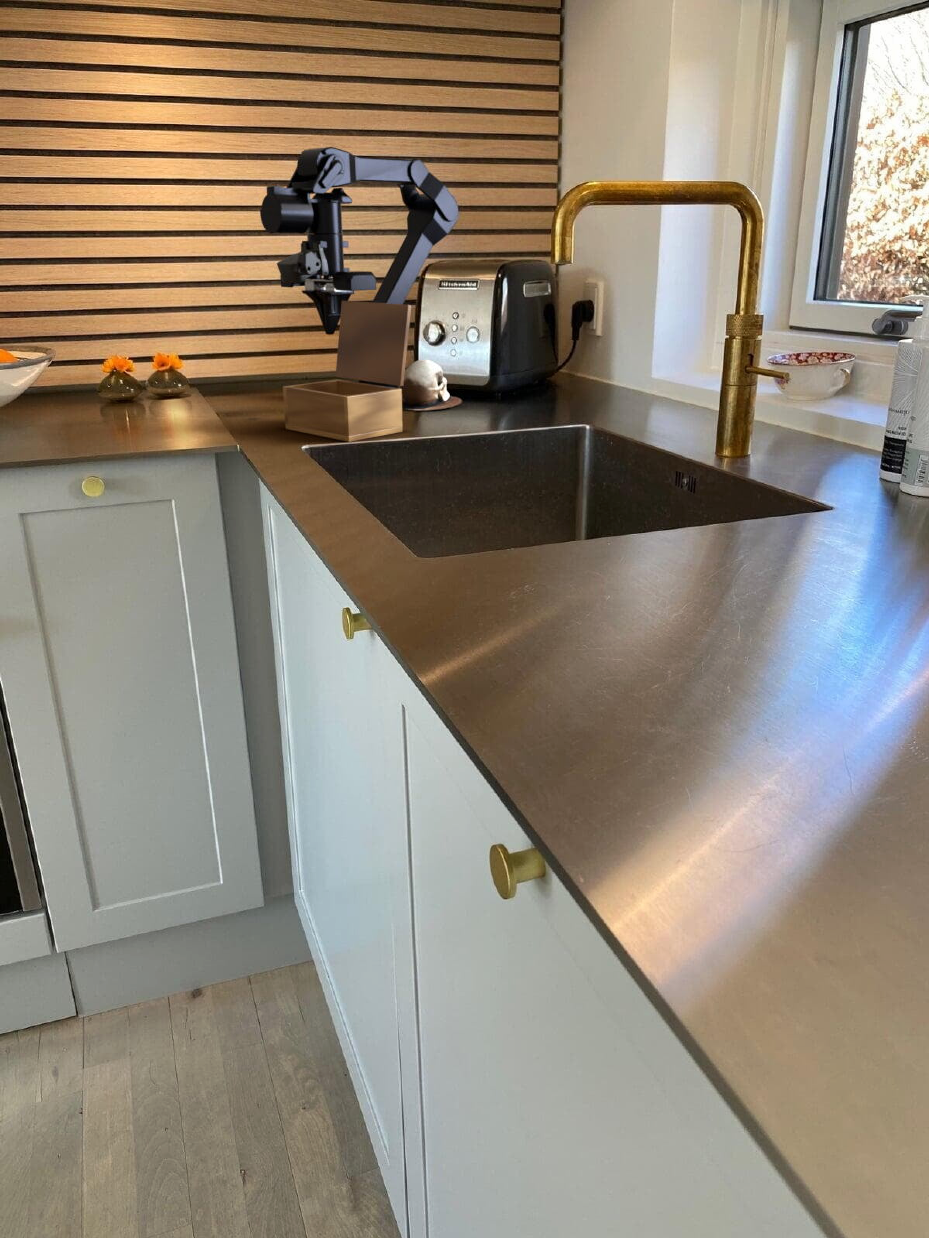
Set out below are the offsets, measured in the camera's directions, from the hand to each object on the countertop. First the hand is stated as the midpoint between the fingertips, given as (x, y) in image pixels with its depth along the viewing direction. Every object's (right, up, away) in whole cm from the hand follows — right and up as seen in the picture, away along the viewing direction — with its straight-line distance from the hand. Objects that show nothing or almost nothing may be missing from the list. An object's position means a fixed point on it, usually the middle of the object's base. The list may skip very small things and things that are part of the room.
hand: (329, 334), depth 158 cm
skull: (+16, -11, +5) cm, 20 cm away
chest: (+4, -19, -16) cm, 26 cm away
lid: (+8, -6, -17) cm, 20 cm away
